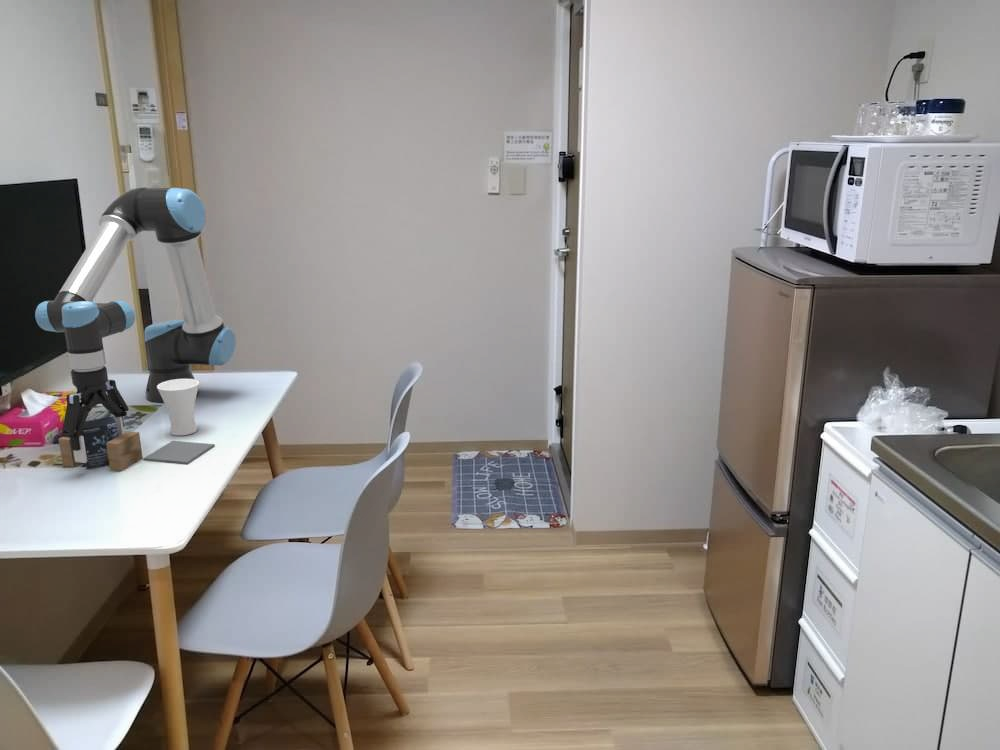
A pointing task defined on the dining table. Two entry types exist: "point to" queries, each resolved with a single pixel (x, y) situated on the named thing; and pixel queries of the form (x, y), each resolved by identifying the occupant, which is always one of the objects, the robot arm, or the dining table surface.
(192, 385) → the cup
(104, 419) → the box
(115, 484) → the dining table surface
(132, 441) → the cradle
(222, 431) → the dining table surface
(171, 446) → the mat
